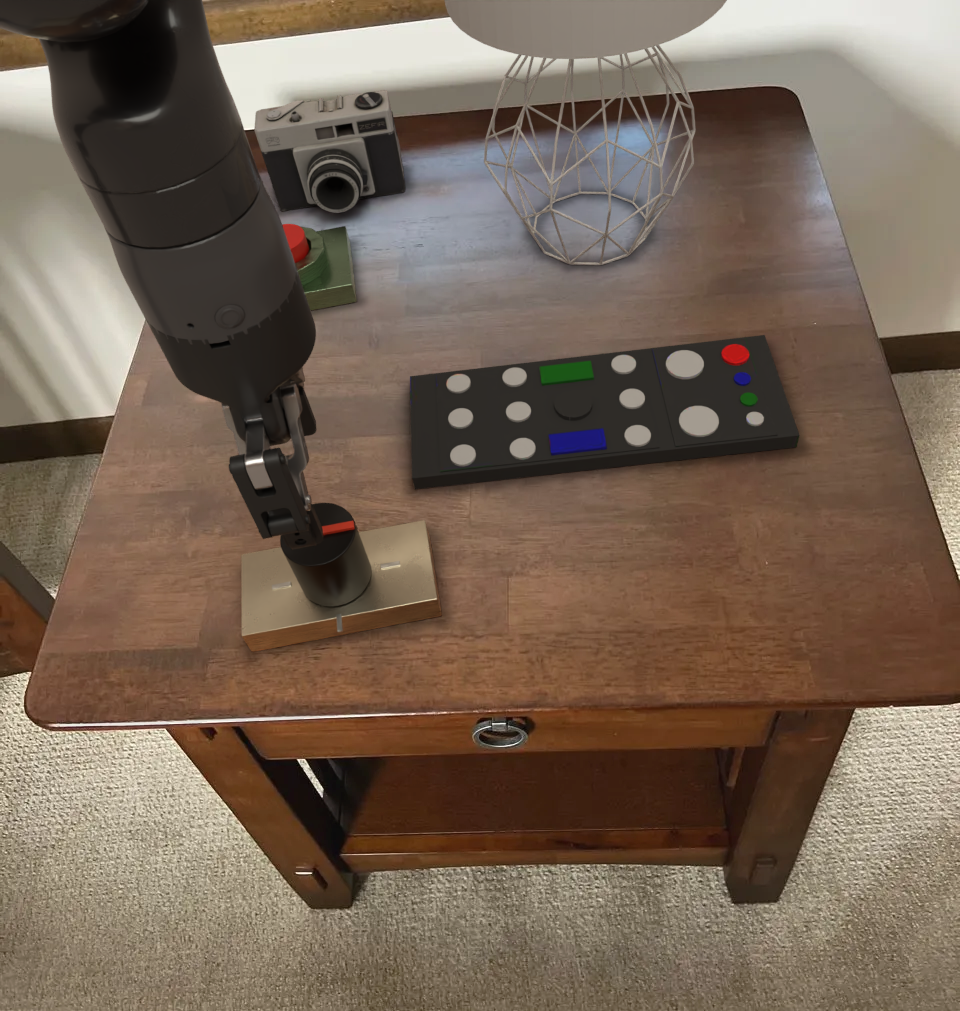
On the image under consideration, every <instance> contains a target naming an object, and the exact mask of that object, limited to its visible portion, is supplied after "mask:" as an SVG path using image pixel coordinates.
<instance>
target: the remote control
mask: <svg viewBox="0 0 960 1011" xmlns="http://www.w3.org/2000/svg"><path fill="white" fill-rule="evenodd" d="M409 390H410V391H409V395H410V396H409V398H410V400H409V401H410V404H409V405H410V446H411V452H410V453H411V480H412V484H413V488H414V490H422V489H432V488H433V489H434V488H441V487H449V486H459V485H460V486H461V485H468V484H478V483H486V482H494V481H495V482H496V481H503V480H514V479H522V478H523V479H524V478H532V477H539V476H540V477H541V476H549V475H550V476H551V475H558V474H566V473H567V474H569V473H577V472H586V471H595V470H604V469H612V468H614V469H615V468H623V467H629V466H630V467H631V466H639V465H640V466H641V465H648V464H658V463H659V464H660V463H667V462H675V461H676V462H677V461H687V460H694V459H704V458H711V457H712V458H713V457H721V456H730V455H731V456H732V455H740V454H748V453H749V454H750V453H758V452H766V451H775V450H777V451H778V450H784V449H785V450H786V449H795V448H797V446H798V442H799V438H800V433H799V430H798V427H797V424H796V421H795V418H794V415H793V413H792V410H791V406H790V404H789V401H788V398H787V395H786V392H785V390H784V386H783V384H782V381H781V378H780V374H779V372H778V369H777V366H776V364H775V360H774V358H773V355H772V352H771V349H770V346H769V343H768V340H767V338H766V335H765V334H760V335H753V336H744V337H743V336H742V337H735V338H734V337H733V338H725V339H718V340H709V341H701V342H692V343H683V344H675V345H667V346H658V347H649V348H640V349H633V350H631V349H630V350H624V351H622V350H621V351H615V352H614V351H613V352H606V353H598V354H589V355H581V356H572V357H563V358H555V359H547V360H545V359H544V360H538V361H537V360H536V361H529V362H520V363H511V364H503V365H494V366H486V367H477V368H468V369H461V370H454V371H444V372H435V373H426V374H418V375H411V376H409Z"/></svg>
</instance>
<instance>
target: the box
mask: <svg viewBox="0 0 960 1011" xmlns="http://www.w3.org/2000/svg"><path fill="white" fill-rule="evenodd" d="M300 227H301V228H302V229H303V230H304V233H305V236H306V239H307V242H308V246H309V252H308V254H307V256H306V257H305V258H304V259H302V260H300V261H299V262H297V263H295V265H296V268H297V271H298V274H299V277H300V280H301V283H302V286H303V289H304V292H305V295H306V298H307V301H308V304H309V307H310V310H311V311H315V310H320V309H321V310H322V309H326V308H331V307H335V306H337V307H338V306H342V305H347V304H353V303H357V301H358V299H357V290H356V281H355V276H354V275H355V273H354V265H353V256H352V248H351V241H350V237H349V234H348V230H347V226H346V225H342V226H338V227H333V228H327V229H321V230H315V229H314V228H312V227H305V226H300Z"/></svg>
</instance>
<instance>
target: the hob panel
mask: <svg viewBox="0 0 960 1011" xmlns="http://www.w3.org/2000/svg"><path fill="white" fill-rule="evenodd" d="M358 532H359V535H360V538H361V540H362V543H363V546H364V548H365V551H366V554H367V556H368V559H369V562H370V565H371V577H370V580H369V583H368V585H367V587H366V588H365V590H364V591H363V592H362V593H361V594H360V595H359V596H358V597H357V598H355V599H354V600H352V601H350V602H348V603H346V604H343V605H339V606H322V605H319V604H316V603H314V602H312V601H311V600H310V599H308V598H307V597H306V595H305V594H304V592H303V590H302V588H301V586H300V584H299V583H298V581H297V579H296V577H295V575H294V573H293V571H292V569H291V567H290V565H289V563H288V561H287V559H286V557H285V555H284V553H283V551H282V549H281V546H279V547H274V548H269V549H263V550H257V551H252V552H246V553H242V554H241V555H240V562H241V563H240V572H241V573H240V574H241V575H240V582H241V584H240V586H241V587H240V593H241V594H240V595H241V596H240V598H241V600H240V604H241V606H240V607H241V608H240V609H241V610H240V611H241V612H240V613H241V615H240V616H241V618H240V623H241V624H240V626H241V627H240V628H241V630H240V631H241V632H240V634H241V636H240V637H242V639H243V641H244V642H245V644H246V645H247V646H248V649H249V650H250V651H251V653H255V652H259V651H264V650H265V651H266V650H271V649H275V648H282V647H285V646H292V645H296V644H297V645H298V644H302V643H307V642H313V641H319V640H323V639H328V638H334V637H339V636H345V635H350V634H354V633H360V632H365V631H371V630H376V629H380V628H386V627H390V626H392V627H393V626H397V625H402V624H406V623H412V622H418V621H423V620H428V619H435V618H438V617H442V616H443V614H442V613H443V612H442V607H441V606H442V605H441V601H440V594H439V588H438V580H437V574H436V567H435V561H434V554H433V547H432V542H431V537H430V536H431V535H430V533H429V528H428V525H427V521H426V519H421V520H416V521H411V522H406V523H400V524H395V525H390V526H385V527H380V528H375V529H374V528H373V529H368V530H364V531H358Z"/></svg>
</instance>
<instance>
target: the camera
mask: <svg viewBox="0 0 960 1011" xmlns="http://www.w3.org/2000/svg"><path fill="white" fill-rule="evenodd" d="M389 96H390V95H389V92H388V90H386V89H379V90H374V91H365V92H361V93H355V94H348V95H343V96H342V95H341V94H339V95H336V98H335V99H330V100H324V97H320V98H319V99H318V100H311V99H307V100H303V99H301V100H294V101H291V102H289V103H287V104H285V105H281V106H280V105H279V106H274V107H268V108H262V109H258V110H257V111H255V118H254V133H255V136H256V139H257V143H258V146H259V149H260V153H261V156H262V159H263V162H264V165H265V168H266V171H267V173H268V177H269V180H270V183H271V186H272V189H273V192H274V195H275V198H276V201H277V204H278V207H279V210H280V211H281V212H284V211H285V212H286V211H293V210H298V209H304V208H311V207H319V208H320V209H322V210H323V211H326V212H329V213H333V214H334V213H335V214H339V213H344V212H347V211H349V210H351V209H353V208H354V207H355V206H356V205H357V204H358V202H359V200H364V199H370V198H377V197H383V196H389V195H395V194H400V193H401V194H402V193H405V191H406V181H405V170H404V169H405V168H404V165H403V159H402V151H401V145H400V140H399V136H398V132H397V129H396V123H395V118H394V113H393V110H392V107H391V101H390V97H389Z"/></svg>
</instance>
